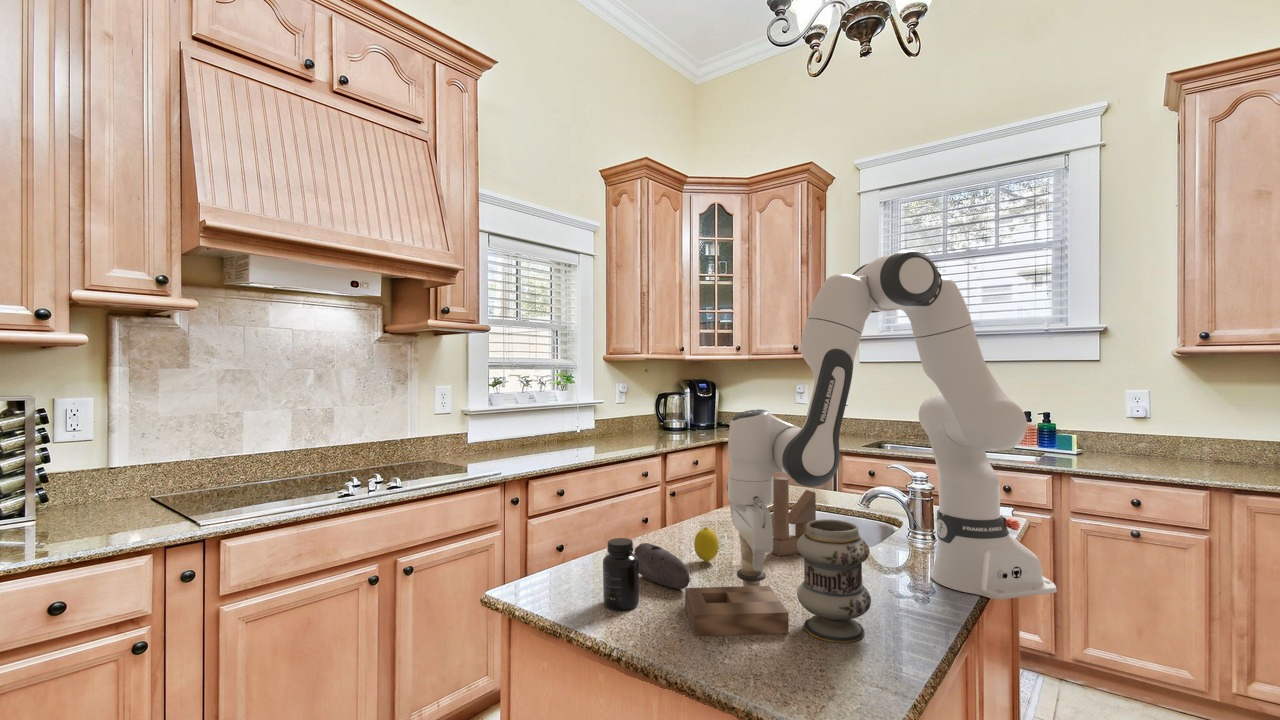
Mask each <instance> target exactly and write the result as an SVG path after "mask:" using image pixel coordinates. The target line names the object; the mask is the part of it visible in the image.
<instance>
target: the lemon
mask: <svg viewBox="0 0 1280 720" xmlns="http://www.w3.org/2000/svg"><path fill="white" fill-rule="evenodd" d="M693 546H694V552H695V554H696V556H697V557H698V558H700V560H703V562H704V563H709V562H710V561H711V560H713V559H714V558H715V557H716V556H717V555H718V552H719V538H718V536H717V534H716V533H715V532H714V530H712V529H710V528H709V527H704V528H702V529H699V531H698V532H697V533H696V534H695V537H694V543H693Z"/></svg>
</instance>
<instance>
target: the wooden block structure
mask: <svg viewBox="0 0 1280 720" xmlns="http://www.w3.org/2000/svg"><path fill="white" fill-rule="evenodd" d="M789 481H790V480H789V478H788V477H784V476H777V477H773V502H772V505H773V506H772V510H773V514H772V517H773V518H772V529H773V550H772V552H771V553H772V554H773V555H776V556H778V557H783V556H790V555H795V554H796V555H797V554H800V553H799V552H798V550H797V542H798V540H799V538H800V537H801V536H802V535H803V534H805V531H806V525H807V523H808V522H810V521H813V520H817V518H816V517H817V513H816V512H817V509H816V507H817V505H816V500H817V499H816V497H817V496H816V495H817V494H816V492H815V491H812V490H809V489H805V491H803V493H802V494H801V496H800V497H799V499H798V500H797V501H796V502H795V504H794V505H793V507H792V508H791V509H790V506H789V505H790V504H789V502H790V501H789V498H790V497H789V492H790V490H789V486H790V485H789V483H790V482H789ZM789 509H790V510H789ZM790 525H795V526H794V529H795V530H794V531H795V533H794V535H792V534H790Z"/></svg>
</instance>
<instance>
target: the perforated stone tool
mask: <svg viewBox="0 0 1280 720" xmlns="http://www.w3.org/2000/svg"><path fill="white" fill-rule="evenodd" d="M633 554H635V555H636V556H637V558H638V565H639V575H641V576H642V577H643V578H645V579H646V580H648V581H650V582H653V583H655V584H658V585H661V586H664V587H667V588H670V589H676V590H685V588H688V586H689V584H690V581H691V578H690V573H689V570H688V568H687V566H686V565H685V563H684V562H683V561H682V560H681V559H680V558H678V557H677V556H676V555H674V554H673V553H671V552H670V551H668V550H666V549H664V548H663V547H660V546H657V545H654V544H652V543H650V542H648V543H647V542H645V543H643V542H642V543H640V544H639V545H637V546H636V547H635V548H634V553H633Z"/></svg>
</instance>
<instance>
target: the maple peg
mask: <svg viewBox="0 0 1280 720" xmlns="http://www.w3.org/2000/svg"><path fill="white" fill-rule="evenodd" d="M740 552H741V553H740V554H741V568H740V569H738V570H737V571H736V576H737V578H738V579H740V580H742V585H743V586H761V582H760V581H763V580H766V577H767V575H766V572H765V571H764V570H763V569H762V570H761V571H755V570H754V569H753V568H752V559H753V553H752V549H751V547H750V546H749V545H748V544H747V542H746V541H745V540H742V541H741V544H740Z"/></svg>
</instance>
